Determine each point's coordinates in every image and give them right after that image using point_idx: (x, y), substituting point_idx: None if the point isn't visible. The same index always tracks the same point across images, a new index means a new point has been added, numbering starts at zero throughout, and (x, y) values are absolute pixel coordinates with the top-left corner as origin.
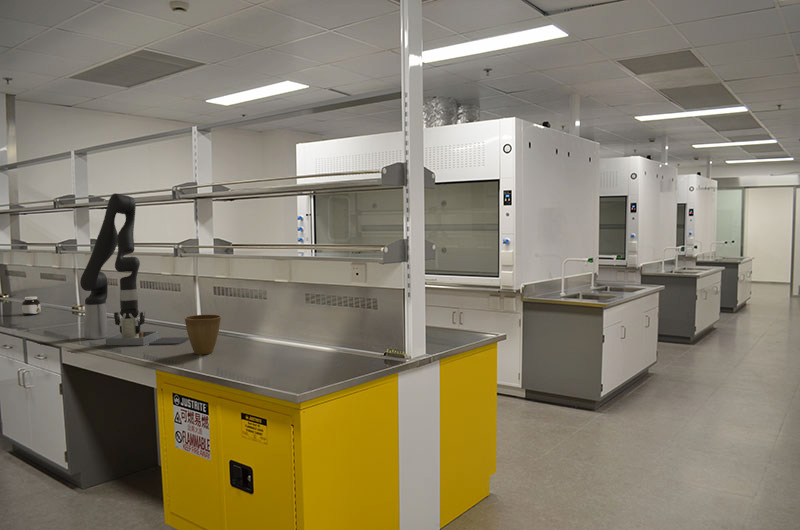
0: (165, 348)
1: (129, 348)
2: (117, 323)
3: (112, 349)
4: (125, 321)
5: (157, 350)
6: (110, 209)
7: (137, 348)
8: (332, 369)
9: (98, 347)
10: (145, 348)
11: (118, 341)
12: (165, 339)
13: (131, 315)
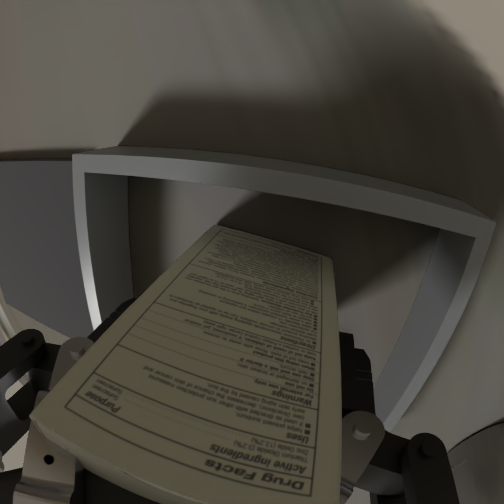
0: (6, 67)
1: (190, 31)
2: (413, 453)
3: (340, 7)
4: (228, 454)
5: (27, 15)
6: None
7: (128, 36)
8: None
9: (501, 150)
10: (80, 45)
11: (351, 179)
12: (55, 285)
13: (28, 502)
